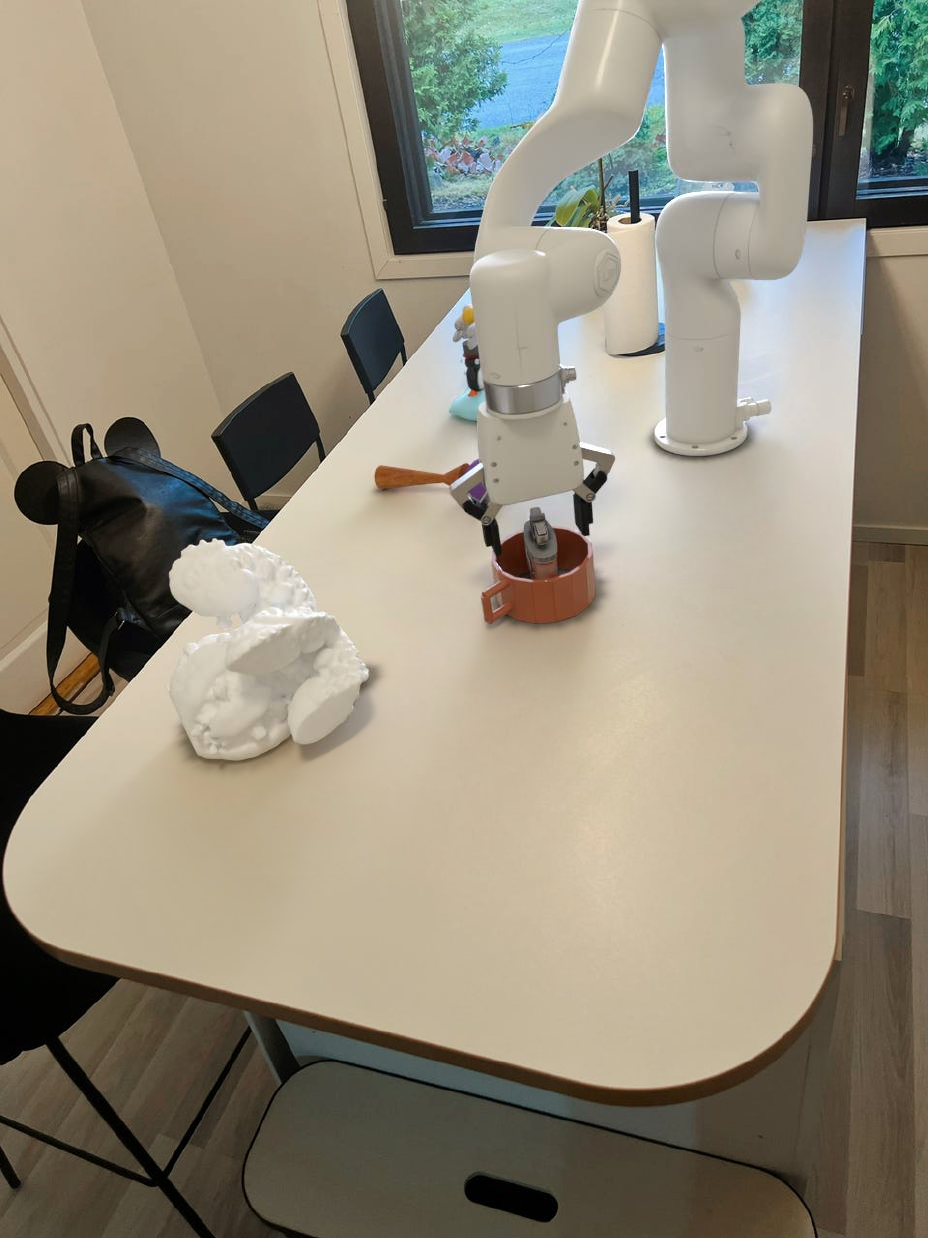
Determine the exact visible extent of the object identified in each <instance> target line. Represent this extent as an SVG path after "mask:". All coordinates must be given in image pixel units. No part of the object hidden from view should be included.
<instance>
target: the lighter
mask: <svg viewBox="0 0 928 1238" xmlns="http://www.w3.org/2000/svg"><path fill="white" fill-rule="evenodd" d="M551 526H552V525H551V523H549V521H548V520H547V519H546V514H545V512H542V509H541V507H539V506H534V507H530V508H529V520H527V521H526V522H524V524H523V530H524V531H523V533H524V541H525V548H526V557H527V564H528V568H529V570H530V571H529V573H530V574H529V579H530V580H535V579H548V578H553V577H557V576H559V570H558V569H559V568H557V559H556V557H557V541H556V535H555V533H554V531H553V528H552V527H551Z"/></svg>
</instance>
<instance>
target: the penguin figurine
mask: <svg viewBox="0 0 928 1238" xmlns="http://www.w3.org/2000/svg"><path fill="white" fill-rule="evenodd" d="M461 311H462V313H461V314H460V315H459V316H458V317H457V318H456V320H455V322H454V329H455V332H454V334H453V336H452V341H453V343H458V342H460V341H461V339H463V340H464V341H463V342H462V343H461V345H462V351H463V354H462V357H463V358H464V366H465V367H466V370H465V371H464V374H463V375H464V377H466V384H467V387H466V389H465V391H464V392H463V393H462V394H461V395H460V396H458V397H456V399H454V400H453V402H452V403H451V405H450V407H449V409H448V413H449V414H451V415H453V416H457V417H459V418H463V419H465V420H468V421H473V422H474V421H476V422H477V416H478V407H479V405H480V404H481V403H483V402H485V394H484V387H483V380H482V372H481V365H480V357H479V350H478V343H477V336H476V329H475V321H474V314H473V307H472V302H469V303H467V304H465V305H464V306H463V307H462V310H461ZM459 361H460V363H463V359H462V358H460V360H459Z"/></svg>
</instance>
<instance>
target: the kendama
mask: <svg viewBox="0 0 928 1238" xmlns="http://www.w3.org/2000/svg"><path fill="white" fill-rule="evenodd" d="M478 464H479V458H477V459H475V460H473V462H472V463H470V464H469V463H468V462H465V463H463V464H461V465H459V466H457V467H455V468H453V469H451V470H449V471H447V472H445V473H436V472H429V471H423V470H416V469H409V468H403V467H396V466H389V465H382V464H381V465H378V466H377V467H376V469H375V470H374V475H373V476H374V483H375V485H376V487H377V488H378V489H380V490H385V489H395V488H403V487H404V488H405V487H413V486H414V487H415V486H424V485H434V484H445V485H447V486H448V487H450V485H451V484H453V483H454V482H455V481H457V480H458V479H459V478H461V477H462V476H463V475H465V474H466V473H467V472H469V471H470V470H471V469H473V468H474V467H475V466H477V465H478ZM486 491H487V489H484V487H483V485H482V482H481V483H479V484H478V485H477V486H475V487H474V488H473V489H471V490H470V491H469V492H468V495H470V497H471V498H473V499H475V500H476V501H478V502H480V500H481V499H482V497H483V495H484V494H485V492H486Z"/></svg>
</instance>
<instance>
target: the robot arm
mask: <svg viewBox="0 0 928 1238" xmlns="http://www.w3.org/2000/svg"><path fill="white" fill-rule="evenodd" d="M762 1H763V0H578V3H577V7H576V12H575V15H574V19H573V23H572V28H571V32H570V36H569V39H568V43H567V48H566V50H565V51H566V52H565V56H564V61H563V64H562V68H561V71H560V75H559V80H558V84H557V88H556V92H555V95H554V99H553V101H552V104H551V105H550V107H549V108H548V109H547V110H546V112H545V113H544V114H543V115H542V116H541V117H540V118H539V119H538V120H537V121H536V122H535V124H533V125H532V127H531V128H530V129H529V130H528V131H527V132H526V133H525V134H524V135H523V137H522V138H521V140H520V141H519V142H518V143H517V144H516V146H515V147H514V148H513V150H512V151H511V153H510V154H509V155H508V156H507V158H506V159H505V161H504V162H503V164H502V165H501V167H500V168H499V170H498V172H497V173H496V175H495V176H494V178H493V181H492V183H491V185H490V187H489V189H488V192H487V195H486V199H485V202H484V206H483V211H482V215H481V219H480V223H479V227H478V232H477V237H476V241H475V247H474V255H473V265H472V267H471V269H470V272H469V278H468V280H469V291H470V299H471V303H472V307H473V314H474V321H475V329H476V336H477V343H478V350H479V357H480V365H481V372H482V380H483V387H484V394H485V402H483V403H481V404H480V405H479V407H478V416H477V421H476V437H477V453H478V459H479V464H478V465H477V466H475V467H474V468H473V469H471V470H470V471H469V472H467V473H466V474H465V475H463V476H462V477H461V478H459V479H458V480H457V481H455V482H454V483H453V484H451V485H450V486H448V490H449V493H450V495H451V497H452V498H453V500H454V501H455V502H456V504H458V505H459V506H460V507H461V508H462V510H463V511H464V512H465V513H466V514H467V515H469V516H471V517H472V518H474V519H476V520H477V521H479V522H480V523H481V529H482V536H483V540H484V541H483V542H484V544H485V547H486V548H489V547H491V549H492V552H493V551H494V554H495V556H500V555H501V554H502V549H501V542H500V541H501V535H500V528H499V524H498V521H497V519H496V517H497V515H498V514H499V512H500V510H501V509H502V507H503V506H509V505H514V504H519V503H524V502H528V501H529V502H530V501H533V500H537V499H542V498H546V497H551V496H556V495H560V494H564V493H567V492H573V494H572V500H573V501H572V502H573V512H574V513H573V514H574V515H573V516H574V523H575V526H576V528H577V529H578V532H580V533H581V534H582V536H583V535H584V536H586V537H589V536H590V533H591V532H590V525H591V524H592V525H593V524H594V511H593V502H594V501H595V500H596V498H597V496H596V495H597V493H598V492H599V491H600V490H601V488H602V487H603V486H604V485H605V484H606V482H607V481H608V475H609V473H610V472H611V470H612V469H613V466H614V463H615V461H616V456H615V454H614V453H613V452H612V451H611V450H609V449H607V448H603V447H598V446H595V445H591V444H587V443H584V442H581V440H580V435H579V429H578V424H577V423H578V422H577V420H576V419H577V418H576V414H575V410H574V407H573V403H572V401H571V397H570V395H569V392H568V390H566V389H565V388H566V385H567V384H569V383H570V382H575V381H577V370H576V367H575V366H573V365H572V366H568V367H567V366H563V365H562V364H561V355H560V343H559V325H560V324H561V323H562V322H566V321H569V320H571V319H572V320H573V319H575V318H579V317H582V316H585V315H587V314H590V313H593V312H594V311H596V310H598V309H599V308H600V307H602V306H603V305H604V304H606V302H607V301H608V300H609V299H610V298H611V297H612V295H613V294H614V292H615V291H616V289H617V287H618V285H619V281H620V277H621V272H622V259H621V254H620V250H619V248H618V246H617V244H616V243H615V242H614V240H613V239H612V238H611V237H610V236H609V235H607V234H606V233H604V232H602V231H600V230H597V229H593V228H587V227H558V226H538V225H537V226H534V225H533V226H532V224H533V221H534V218H535V216H536V214H537V212H538V210H539V208H540V206H541V205H542V203H543V202H544V201H545V199H546V198H547V197H548V196H549V194H550V193H551V192H552V191H553V190H554V189H555V188H556V187H557V186H558V185H559V184H561V183H562V182H564V181H565V180H566V179H568V178H569V177H570V176H572V175H573V174H574V173H576V172H578V171H580V170H581V169H583V168H585V167H588V166H589V165H591V164H593V163H594V162H596V161H597V160H599V159H602V158H603V157H605V156H606V155H608V154H610V153H612V152H614V151H615V150H617V149H619V148H621V147H623V146H624V145H625V144H627V143H628V142H629V141H631V140H632V139H633V138H634V137H635V136H636V134H637V133H638V132H639V130H640V129H641V126H642V123H643V118H644V115H645V111H646V107H647V103H648V99H649V95H650V92H651V88H652V83H653V79H654V76H655V72H656V69H657V64H658V62H659V61H658V60H659V57H660V53H661V50H662V51H663V60H664V61H663V63H664V88H665V89H664V95H665V97H664V98H665V138H666V139H665V140H666V141H665V143H666V155H667V161H668V166H669V169H670V171H671V172H672V174H673V176H674V177H676V178H678V179H679V180H681V181H686V182H691V183H692V182H693V183H754V184H755V185H756V187H757V190H758V191H696V192H690V193H686V194H682V195H680V196H677V197H676V198H675V197H674V199H672V200H671V201H669V202H668V203H667V204H666V205H665V206H664V208H663V209H662V210H661V212H660V214H659V216H658V217H657V222H656V225H655V233H654V234H655V235H654V236H655V237H654V239H655V250H656V256H657V261H658V265H659V270H660V275H661V276H660V277H661V281H662V283H661V284H662V290H663V292H662V293H663V303H664V305H663V309H664V310H663V311H664V312H663V313H664V378H665V379H664V381H665V382H664V385H665V387H664V389H665V390H664V392H665V393H664V394H665V395H664V397H665V401H664V402H665V403H664V404H665V418H663V419H662V420H661V421H659V423H658V424H657V425H656V426H655V428H654V441H655V443H656V444H657V445H658V446H659V447H660V449H661V448H662V449H663V450H665V451H667V452H669V453H673V454H675V455H681V456H687V457H706V456H714V455H718V454H722V453H726V452H729V451H731V450H734V449H736V448H738V447H739V446H741V445H742V444H743V443H744V442H745V440H746V439H747V437H748V424H747V422H746V421H749V420H750V418H753V417H759V416H763V415H769V414H771V412H772V404H771V402H770V400H769V399H763V400H759V401H755V400H754V398H753V397H752V396H749V397H744V398H741V399H738V389H739V369H740V368H739V367H740V366H739V365H740V342H741V322H742V320H741V318H742V313H741V312H742V310H741V304H740V300H739V297H738V294H737V292H736V290H735V289H734V286H733V285H732V283H731V281H730V280H745V281H746V280H747V281H776V280H780V279H783V278H786V277H788V276H789V275H791V273H793V272H794V271H795V269H796V268H797V267H798V264H799V263H800V261H801V258H802V255H803V251H804V247H805V242H806V235H807V226H808V214H809V213H808V212H809V197H810V183H811V170H812V158H813V157H812V155H813V141H814V115H813V108H812V105H811V102H810V99H809V97H808V95H807V93H806V92H805V91H804V89H802V88H801V87H799V86H798V85H796V84H792V83H787V82H771V83H758V84H750V83H748V82H747V79H746V72H745V70H746V69H745V68H746V52H745V51H746V32H745V26H744V23H743V20H742V19H743V17H745V15H746V14H747V13H749V12H750V11H751V10H752V9H754V7H756V6H757V5H758V4H759V3H761V2H762ZM584 460H585V461H590V462H593V463H596V464H595V467H594V468H593V469H592V470H591V471H590V472H589V473H588V475H587V476H586V478H585V471H584V470H585V469H584V467H585V466H584ZM481 482H482V485H483V487H484V489H487V491H486V492H485V494H484V495H483V497H482V499H481V500H480V501H479V500H477V499H475V498H474V497H472V496H470V494H468V492H469V491H470V490H471V489H473V488H474V487H475V486H477V485H478V484H479V483H481Z"/></svg>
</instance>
